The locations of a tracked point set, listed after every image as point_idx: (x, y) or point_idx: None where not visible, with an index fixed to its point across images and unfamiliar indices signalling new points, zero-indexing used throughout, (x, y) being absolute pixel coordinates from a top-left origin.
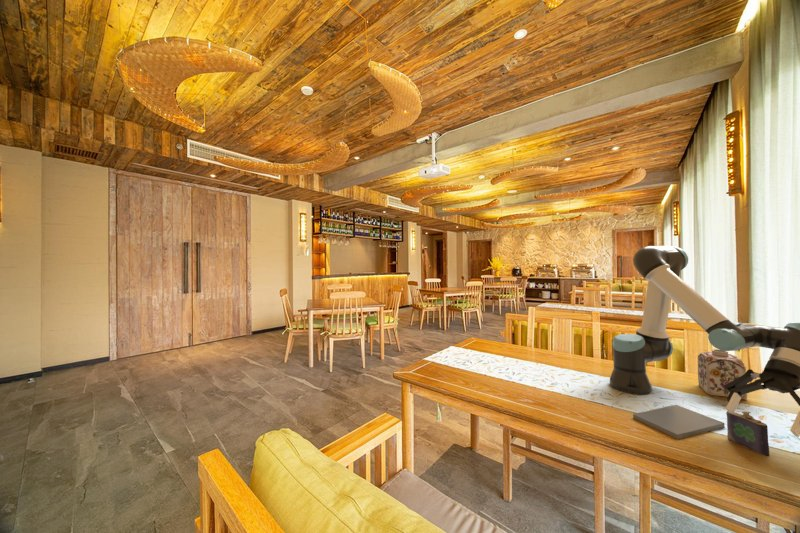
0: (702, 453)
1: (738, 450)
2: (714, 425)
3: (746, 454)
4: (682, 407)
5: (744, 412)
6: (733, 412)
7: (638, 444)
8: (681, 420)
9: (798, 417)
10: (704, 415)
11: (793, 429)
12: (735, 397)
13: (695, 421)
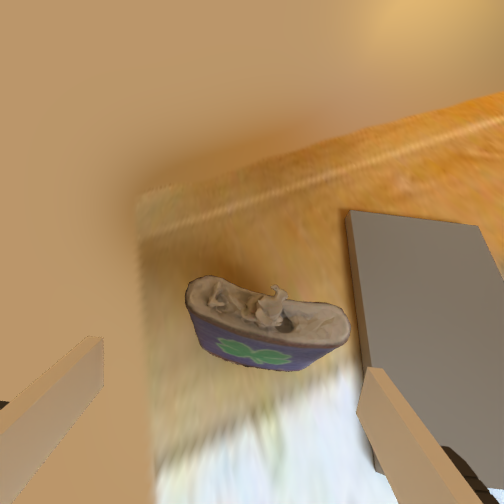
0: (283, 203)
1: None
2: None
3: None
4: None
5: (276, 296)
6: (328, 331)
7: (348, 143)
8: (426, 312)
9: (6, 418)
10: None
11: (86, 342)
12: (437, 481)
13: (415, 354)
